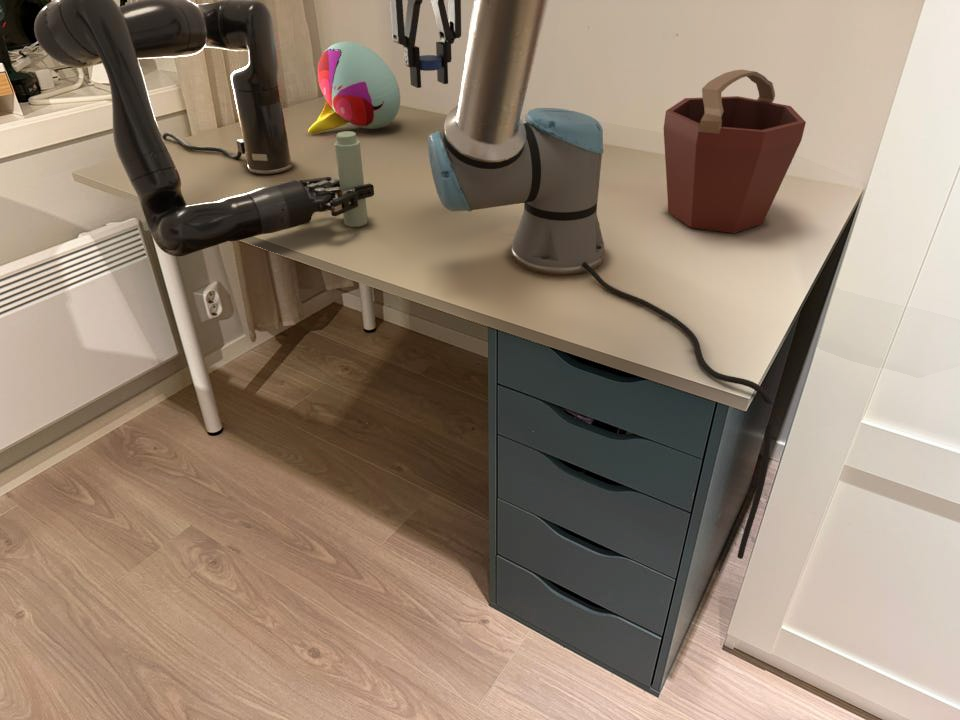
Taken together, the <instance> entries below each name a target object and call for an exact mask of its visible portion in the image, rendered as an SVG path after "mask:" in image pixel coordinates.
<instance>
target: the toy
mask: <svg viewBox="0 0 960 720" xmlns="http://www.w3.org/2000/svg"><path fill="white" fill-rule="evenodd" d="M317 81H318V85H319V88H320V91H321V93H322V95H323V97H324V99H325V102H324V108H323V109H322V111H321V113H320V114H319V116H318V118H317V119H316V120H315V121H314V123H312V124H311V126H310V127H309V128H308V129H307V132H308V134H318V133H322V132H325V131H329V130H333V129H336V128H339V127H342V126H345V125H347V124H351V125H353V126H356V127H358V128H361V129H366V130H378V129H382V128H384V127H386V126H388V125H390V124H391V123H392V122H393V121H394V120H395V118H396V117H397V115H398V113H399V111H400V107H401V91H400V86H399V84H398V80H397V78H396V76H395V74H394V72H393V71H392V69H391V67H390V66H389V65H388V64H387V62H386V61H385V60H384V59H383V58H382V57H381V56H380V55H379V54H378V53H376V52H375V51H374V50H372V49H370V48H369V47H367V46H365V45H362V44H360V43H357V42H353V41H352V42H351V41H341V42H337V43H336V42H335V43H334V44H332V45H330V46H329V47H327V48H326V49H325V50H324V51H323V52H322V54H321V56H320V58H319V61H318V64H317Z"/></svg>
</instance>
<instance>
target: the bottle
mask: <svg viewBox="0 0 960 720" xmlns="http://www.w3.org/2000/svg"><path fill="white" fill-rule="evenodd" d="M335 138H336V141H335V142H334V150H335V158H336V165H337V174H338V179H339V183H340V188H341V189H347V188H353V187H357V186H361V185H365V179H364V170H363V161H362V151H361V150H362V149H361V142H360V140H359V139H357V133H356V132H355V131H349V130H347V131H340V132H338V133H336V136H335ZM347 194H348V193H347ZM343 195H345V194H343ZM366 200H367V198H364V199H360V200H358V207H356V208H354V209H351V210H349V211H347V212H345V213H342V214H343V223H344V225H345V226H346V227H351V228H357V227H363V226H366V225H367V224H368V222H369V220H368V209H367V201H366Z"/></svg>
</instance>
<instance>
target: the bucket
mask: <svg viewBox="0 0 960 720" xmlns="http://www.w3.org/2000/svg"><path fill="white" fill-rule="evenodd" d="M746 77H747V78H748V79H749V80H750V81H751V82H752V83H754V84H755V85H756V88H757V91H758V98H757V99H754V98H750V97H744V96H739V95H736V96H733V95H732V96H731V95H730V96H722V92H724V91H725V90H726V89H727V88H728V87H729V86H730V85H732V84H734V83H735V82H737V81H738V80H740V79H743V78H746ZM701 96H702V97H685V98H683V99H682V100H680V101H679V102H677V103H676V104H674V105H672V106H670V107H669V108H668V109H667V110H665V115H664V122H663V143H664V156H665V157H664V159H665V161H664V162H665V177H666V179H665V180H666V192H667V193H666V194H667V196H666V197H667V212H668V214H670V215H671V216H672V217H674V218H676V219H677V220H679V221H680V222H681V223H683V224H684V225H686V226H687V227H689V228H691V229H698V230H707V231H715V232H721V233H732V234H735V233H739V232H742V231H745V230H749V229H751V228H754V227H757V226H760V225H762V224H764V222H765V219H766V218H767V215H768V213H769V211H770V209H771V207H772V205H773V202H774V201H775V198H776V196H777V195H778V192H779V189H780V187H781V185H782V183H783V181H784V179H785V177H786V175H787V173H788V170H789V168H790V167H791V164H792V162H793V159H794V158H795V155H796V153H797V151H798V150H799V149H798V148H799V147H800V145H801V142H802V139H803V135H804V132H805V128H806V125H807V124H806V120H805V119H804V118H803V117H802V116H801V115H800V114H799V113H798V112H797V111H796V110H795V109H794V108H793V107H792V106H791V105H787V104H781V103H776V102H774V101H775V98H776V92H775V88H774V83H773V82H772V81H771V80H769V79H768V78H767V77H766V76H765V75H763V74H761V73H760V72H758V71H755V70H748V69H735V70H732V71H727V72H724V73H722V74H720V75H717V76H716V77H714V78H713V79H711V80H709V81H708V82H707V83H706V84H705V85H704V86H703V87H702V88H701Z"/></svg>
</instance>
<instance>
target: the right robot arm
mask: <svg viewBox="0 0 960 720" xmlns="http://www.w3.org/2000/svg"><path fill="white" fill-rule="evenodd" d="M406 1H407V6H406V12H405V18H404V5H403V0H389V9H390V22H391V37H392V42H394V43H395V44H398V45H401V46H403V51H404V52H403V55H404V64H405V66H406V67H408V68H409V77H410V79H409V80H410V86H412V87H414V88H417V89H420V88H422V76H421V75H422V73H421V72H422V70H420V56H421V55H420V46H416V39H417V33H418V26H419V18H420V12H421V5H422V4H423V0H406ZM430 3H431V7H432V11H433V17H434V20H435V24H436V28H437V32H438V36H439V37H438V38H439V40H440V41H435V55H436V56H440V57H442V68H441V69H439V70H436V75H437V76H436V77H437V80H436V81H437V82H439V83H441V84H443V85H449V66H448V64H449V63H452V59H453V58H452V44H453V45H454V43H455V40H456V39H460V38H461V37H462V0H447V8H446V4H445V0H430ZM548 5H549V0H472V5H471V12H470V13H471V14H470V20H469V26H468V34H467V42H466V48H465V55H464V56H465V57H464V62H463V70H462V77H461V82H460V83H461V84H460V90H459V97H458V105H456V106H455V107H454V108H453V109H451V111H450V112H448V113H447V116H446V118H445V120H444V126H443V131H441V130H436V131H434V132H432V133H430V134H429V135H428V138H427V151H428V158H429V165H430V169H431V175H432V179H433V183H434V187H435V190H436V194H437V196H438V199H439V201H440V204H441V205H442V206H443V208H445V209H446V210H447V211H450V212H472V211H476V210H484V209H490V208H491V209H492V208H497V207H505V206H512V205H519V204H523V212H522V215H521V218H520V220H519V224H518V226H517V229H516V232H515V234H514V237H513V240H512V245H511V257H512V259H513V261H514V262H515V263H516V264H517V265H519V267H521V268H524V269H526V270H528V271H530V272H532V273H533V272H534V273H537V274H541V275H547V276H558V277H559V276H560V277H561V276H573V275H574V276H575V275H580V274H584V273H589V274H590V275H591V276H592V277H593V278H594V279H595V280H596V281H597V283H598V284H599V285H600V286H602V288H604V289H605V290H607V291H609V292H610V293H612V294H614V295H616V296H618V297H621V298H623V299H626V300H628V301H632V302H634V303H636V304H639V305H640V306H641V305H642V306H643V307H645V308H647V309H649V310H651V311H653V312H655V313H656V314H658V315H659V316H662V317H663V318H665V319H667V320H668V321H670V322H671V323H673V324H674V325H676V326H677V327H678V328H679V329H680V330H682V332H684V333H685V334H686V336H687V337H689V339H690V341H691V342H692V345H693V347H694V352H695V357H696V360H697V362H698V365H699V366H700V368H702V370H704V372H706V373H707V374H708V375H709V376H711V377H712V378H714V379H717V380H719V381H722V382H725V383H731V384H737V385H740V386H744V387H748V388H749V389H752V390H754V391H755V392H757V393H758V394H759V396H761V398H762V399H763V401H764V402H765V403H766V404H768V405H772V404H774V403H773V400H772V398H771V396H770V395H769V393H768V392H767V391H766V390H765V389H764V388H763V387H762V386H761V385H759V383H756V382H754V381H752V380H749V379H746V378H743V377H742V378H741V377H737V376H732V375H727V374H723V373H720V372H719V371H716V370H714V369H713V368H712V367H711V366H710V365H708V363H707V361H706V360H705V358H704V355H703V353H702V348H701V344H700V341H699V339H698V338H697V336H696V334H695V333H694V332H693V331H692V330H691V329H690V327H688V326H687V325H685V324H684V323H683V322H682V321H681V320H679V319H678V318H676V317H675V316H673V315H671V314H670V313H668V312H667V311H666V310H663V309H662V308H660V307H658V306H656V305H654V304H653V303H651V302H649V301H647V300H645V299H642V298H640V297H637V296H636V295H632V294H629V293H627V292H624V291H621V290H619V289H617V288H615V287H613V286H612V285H610V284H608V282H606V281H604V279H603V278H602V277H601V276H600V275H599V274H598V273H597V271H596V270H595V269H596V268H598V267H599V266H600V265H601V264H602V263H603V261H604V258H605V242H604V239H603V233H602V230H601V226H600V222H599V218H598V213H597V212H598V201H599V200H598V199H599V189H600V179H601V171H602V170H601V169H602V159H603V154H604V129H603V126H602V124H601V123H600V121H598V120H597V119H596V118H595V117H592V116H591V115H589V114H585V113H583V112H579V111H575V110H570V109H564V108H556V107H535V108H533V109H530V110H528V111H527V113H526V115H525V118H524V119H525V122H523V120H522V119H521V115H522V113H523V112H522V111H523V108H524V104H525V99H526V94H527V91H528V86H529V83H530V79H531V74H532V70H533V66H534V63H535V58H536V55H537V50H538V46H539V42H540V38H541V34H542V31H543V25H544V22H545V21H544V20H545V16H546V14H547V8H548ZM773 428H774V421H773V422H771V423H769V424H767V425H765V429H764V437H763V438H764V439H763V448H762V456H761V465H760V469H759V476H758V481H757V484H756V489H755V492H754V497H753V501H752V503H751V507H750V510H749V513H748V517H747V520H746V523H745V527H744V530H743V533H742V537H741V540H740V543H739V548H738V552H737V555H736V556H737V559H739V560H742V559H743V558H744V555H745V552H746V548H747V544H748V541H749V537H750V534H751V531H752V527H753V524H754V521H755V518H756V516H757V515H756V514H757V511H758V509H759V505H760V502H761V499H762V495H763V491H764V486H765V483H766V479H767V478H766V477H767V471H768V468H769V467H768V466H769V459H770V454H771V453H770V452H771V445H772V444H771V443H772V434H773Z"/></svg>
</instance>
